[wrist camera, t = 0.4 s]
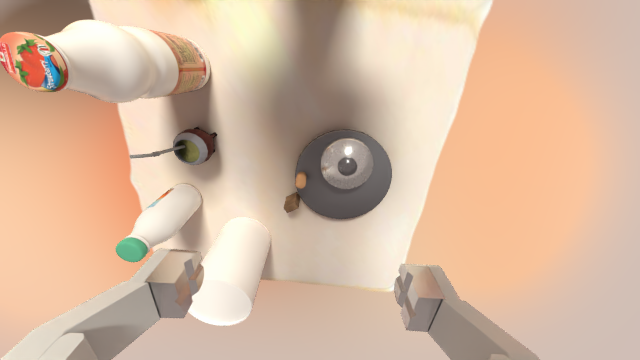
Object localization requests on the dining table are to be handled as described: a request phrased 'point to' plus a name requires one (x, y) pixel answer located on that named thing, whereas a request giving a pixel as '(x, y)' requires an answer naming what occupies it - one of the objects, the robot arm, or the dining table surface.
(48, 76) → the fruit juice
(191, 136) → the mate gourd
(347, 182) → the cover
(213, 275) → the canister
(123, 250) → the milk bottle
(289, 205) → the brown wooden block
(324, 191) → the turntable
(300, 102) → the dining table surface
